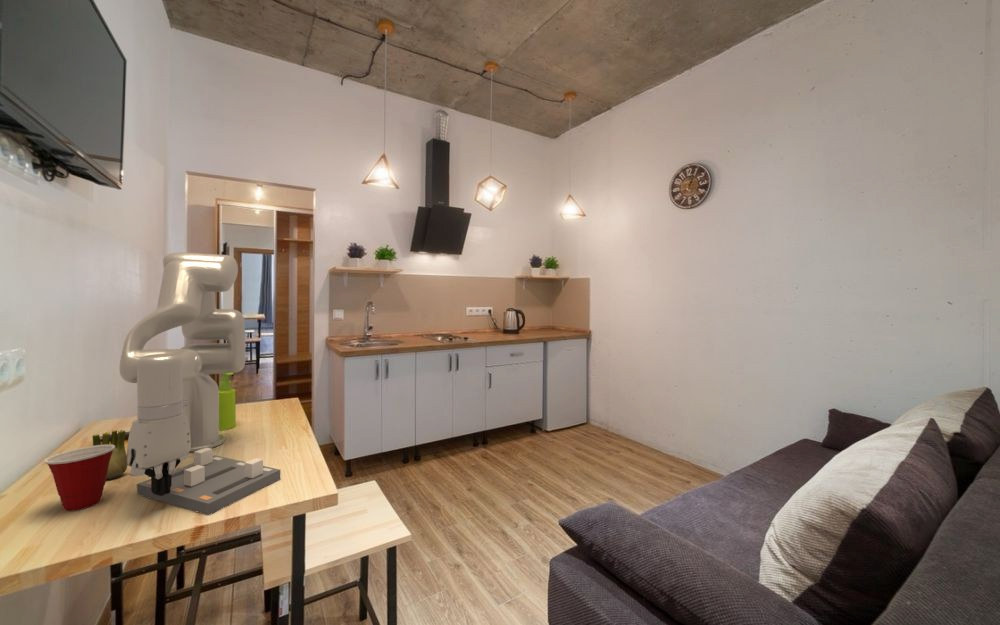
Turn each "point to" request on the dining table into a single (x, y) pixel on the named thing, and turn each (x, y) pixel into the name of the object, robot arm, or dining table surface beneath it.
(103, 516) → the dining table surface
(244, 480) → the switch panel
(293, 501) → the dining table surface
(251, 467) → the right switch
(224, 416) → the soap dispenser
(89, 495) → the plastic cup
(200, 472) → the switch
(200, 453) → the left switch
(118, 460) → the fennel bulb
